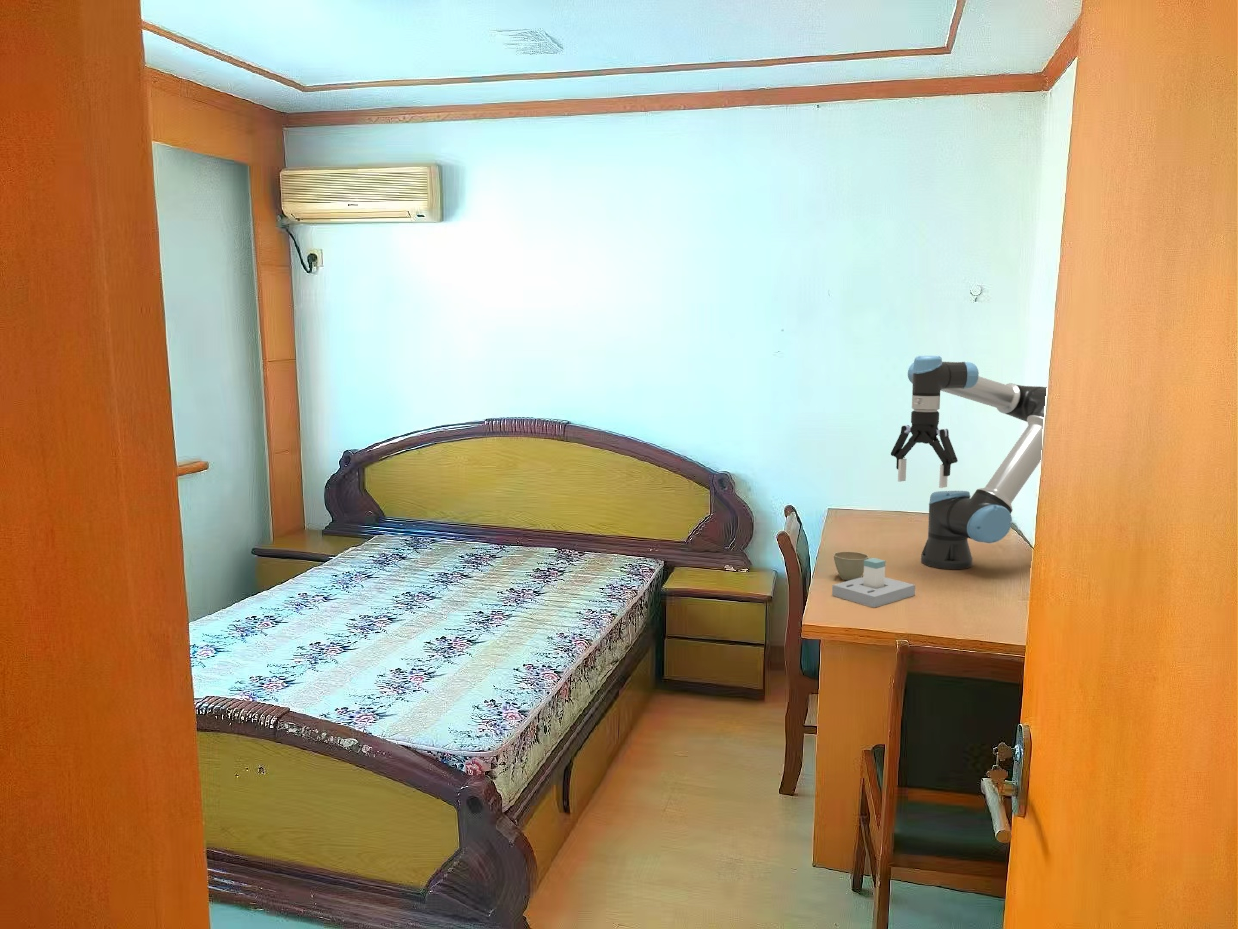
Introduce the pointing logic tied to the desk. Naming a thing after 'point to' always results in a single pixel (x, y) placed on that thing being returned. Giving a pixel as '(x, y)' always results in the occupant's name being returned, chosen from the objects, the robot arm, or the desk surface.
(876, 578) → the block
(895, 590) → the outlet plate
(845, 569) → the flower pot
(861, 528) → the desk surface
